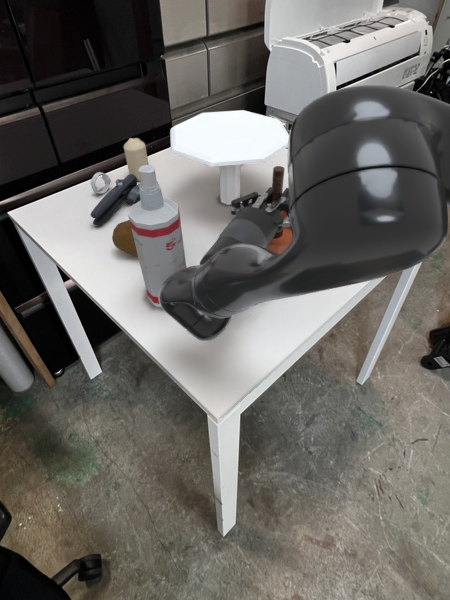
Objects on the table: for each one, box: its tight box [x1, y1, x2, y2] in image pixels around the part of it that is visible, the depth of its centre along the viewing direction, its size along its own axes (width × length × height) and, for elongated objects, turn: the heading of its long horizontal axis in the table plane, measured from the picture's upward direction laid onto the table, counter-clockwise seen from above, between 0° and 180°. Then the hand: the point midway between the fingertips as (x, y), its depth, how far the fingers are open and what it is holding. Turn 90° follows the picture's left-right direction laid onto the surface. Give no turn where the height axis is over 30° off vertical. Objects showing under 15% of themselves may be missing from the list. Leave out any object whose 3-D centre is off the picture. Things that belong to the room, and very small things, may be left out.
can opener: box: [90, 174, 141, 227], centre depth 89 cm, size 18×7×6 cm, turn 152°
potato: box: [111, 219, 138, 256], centre depth 77 cm, size 8×12×8 cm, turn 100°
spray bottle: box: [127, 164, 187, 309], centre depth 61 cm, size 8×8×25 cm
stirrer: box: [270, 165, 285, 239], centre depth 71 cm, size 4×4×14 cm
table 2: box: [169, 109, 289, 206], centre depth 87 cm, size 28×28×17 cm
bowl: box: [266, 204, 293, 254], centre depth 77 cm, size 14×14×6 cm
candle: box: [123, 137, 150, 182], centre depth 98 cm, size 6×6×10 cm
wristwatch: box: [90, 171, 112, 195], centre depth 95 cm, size 3×5×5 cm, turn 149°
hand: (281, 191), depth 72 cm, fingers closed on stirrer, 2 cm apart
